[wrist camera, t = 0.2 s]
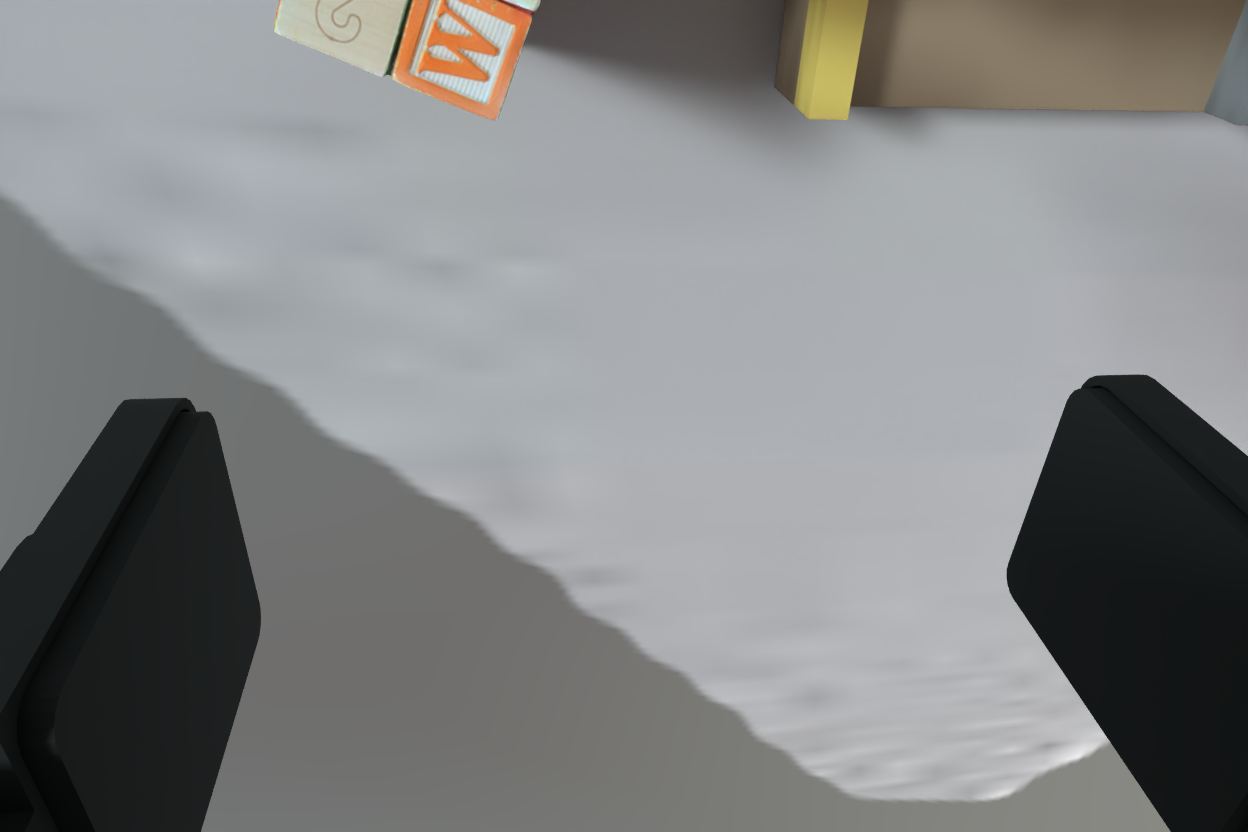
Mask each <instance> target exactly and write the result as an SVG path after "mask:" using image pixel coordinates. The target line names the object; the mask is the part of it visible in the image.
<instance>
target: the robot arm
mask: <svg viewBox="0 0 1248 832" xmlns="http://www.w3.org/2000/svg"><path fill="white" fill-rule="evenodd" d="M1007 583H1008V587H1009V591H1010V593H1011V595H1012V597H1013V599H1014V600H1015V602H1016V603H1017V605H1018V606H1019V608H1020V609H1021V611H1022V612H1023V614H1024V615H1025V617H1026V618H1027V620H1028V621H1029V622H1030V624H1031V625H1032V627H1033V628H1034V630H1035V631H1036V633H1037V634H1038V636H1039V637H1040V639H1041V640H1042V642H1043V643H1044V645H1045V646H1046V648H1047V649H1048V651H1049V652H1050V654H1051V655H1052V657H1053V658H1054V659H1055V661H1056V662H1057V664H1058V665H1059V667H1060V668H1061V670H1062V671H1063V673H1064V674H1065V676H1066V677H1067V679H1068V680H1069V682H1070V683H1071V685H1072V686H1073V688H1074V689H1075V691H1076V692H1077V693H1078V695H1079V696H1080V698H1081V699H1082V701H1083V702H1084V704H1085V705H1086V707H1087V708H1088V710H1089V711H1090V713H1091V714H1092V716H1093V717H1094V719H1095V720H1096V722H1097V723H1098V725H1099V726H1100V728H1101V729H1102V730H1103V732H1104V733H1105V735H1106V736H1107V738H1108V739H1109V741H1110V742H1111V744H1112V745H1113V747H1114V748H1115V750H1116V751H1117V752H1118V754H1119V756H1120V757H1121V759H1122V760H1123V762H1124V763H1125V764H1126V766H1127V767H1128V769H1129V770H1130V772H1131V773H1132V775H1133V776H1134V778H1135V779H1136V781H1137V782H1138V784H1139V785H1140V786H1141V788H1142V790H1143V791H1144V793H1145V794H1146V796H1147V797H1148V798H1149V800H1150V801H1151V803H1152V804H1153V806H1154V807H1155V809H1156V810H1157V812H1158V813H1159V815H1160V816H1161V818H1162V819H1163V821H1164V822H1165V823H1166V825H1167V827H1168V828H1169V830H1170V831H1171V832H1248V456H1247V455H1246V454H1245V453H1243V452H1242V451H1241V450H1240V449H1238V448H1237V447H1236V446H1235V445H1234V444H1232V443H1231V442H1230V441H1229V440H1228V439H1226V438H1225V437H1224V436H1223V435H1221V434H1220V433H1219V432H1218V431H1217V430H1215V429H1214V428H1213V427H1212V426H1211V425H1209V424H1208V423H1207V422H1206V421H1205V420H1203V419H1202V418H1201V417H1200V416H1198V415H1197V414H1196V413H1195V412H1194V411H1192V410H1191V409H1190V408H1189V407H1188V406H1186V405H1185V404H1184V403H1183V402H1182V401H1180V400H1179V399H1178V398H1177V397H1175V396H1174V395H1173V394H1172V393H1171V392H1169V391H1168V390H1167V389H1166V388H1165V387H1163V386H1162V385H1161V384H1160V383H1159V382H1157V381H1156V380H1155V379H1153V378H1151V377H1149V376H1148V375H1102V376H1094V377H1092V378H1089V379H1088V380H1087V381H1086V382H1085V383H1084V384H1083V385H1082V387H1081V389H1078V390H1075V391H1074V392H1073V393H1072V394H1071V395H1070V396H1069V398H1068V400H1067V402H1066V405H1065V408H1064V411H1063V413H1062V416H1061V419H1060V422H1059V425H1058V427H1057V430H1056V433H1055V436H1054V438H1053V441H1052V444H1051V447H1050V449H1049V452H1048V455H1047V458H1046V461H1045V463H1044V466H1043V469H1042V472H1041V474H1040V477H1039V480H1038V483H1037V486H1036V488H1035V491H1034V494H1033V497H1032V499H1031V502H1030V505H1029V508H1028V510H1027V513H1026V516H1025V519H1024V522H1023V524H1022V527H1021V530H1020V533H1019V535H1018V538H1017V541H1016V544H1015V546H1014V549H1013V552H1012V555H1011V558H1010V560H1009V563H1008V567H1007ZM260 626H261V611H260V603H259V600H258V595H257V591H256V587H255V582H254V578H253V574H252V570H251V566H250V562H249V558H248V554H247V549H246V545H245V541H244V537H243V533H242V529H241V525H240V521H239V516H238V512H237V508H236V504H235V500H234V496H233V492H232V488H231V484H230V479H229V476H228V471H227V467H226V463H225V459H224V455H223V451H222V446H221V442H220V439H219V434H218V430H217V426H216V423H215V420H214V418H213V416H212V415H211V413H209V412H208V411H207V412H196V410H195V408H194V406H193V404H192V403H191V401H190V400H188V399H187V398H164V399H163V398H161V399H129V400H124V401H123V402H122V403H121V404H120V405H119V406H118V408H117V409H116V411H115V412H114V414H113V415H112V417H111V418H110V420H109V421H108V423H107V425H106V426H105V427H104V429H103V430H102V432H101V433H100V435H99V436H98V438H97V439H96V441H95V442H94V444H93V445H92V447H91V448H90V450H89V451H88V453H87V454H86V456H85V457H84V459H83V460H82V462H81V463H80V465H79V466H78V468H77V469H76V471H75V472H74V474H73V475H72V477H71V478H70V480H69V482H68V483H67V484H66V486H65V487H64V489H63V490H62V492H61V493H60V495H59V496H58V498H57V499H56V501H55V502H54V504H53V505H52V507H51V508H50V510H49V511H48V512H47V514H46V516H45V517H44V518H43V520H42V521H41V523H40V524H39V526H38V527H37V529H36V531H35V532H34V533H33V534H32V535H29V536H27V537H26V538H25V539H24V540H23V541H22V542H21V543H20V544H19V545H18V546H17V548H16V549H15V550H14V552H13V553H12V555H11V556H10V558H9V559H8V561H7V562H6V564H5V565H4V566H3V568H2V569H1V571H0V832H201V829H202V826H203V822H204V819H205V815H206V812H207V809H208V806H209V802H210V799H211V796H212V792H213V789H214V785H215V782H216V779H217V776H218V772H219V769H220V766H221V762H222V759H223V755H224V752H225V749H226V746H227V742H228V739H229V736H230V732H231V729H232V726H233V722H234V719H235V715H236V712H237V709H238V706H239V702H240V699H241V696H242V692H243V689H244V685H245V682H246V679H247V676H248V672H249V669H250V665H251V662H252V659H253V655H254V652H255V649H256V646H257V642H258V639H259V633H260Z"/></svg>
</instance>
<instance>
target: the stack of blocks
mask: <svg viewBox="0 0 1248 832" xmlns="http://www.w3.org/2000/svg"><path fill="white" fill-rule="evenodd" d="M540 2H541V0H280V1H279V5H278V10H277V14H276V19H275V27H274V31H275V32H276V33H277V34H278V35H280V36H283V37H285V38H288V39H291V40H293V41H296V42H298V43H301V44H303V45H305V46H308V47H310V48H313V49H315V50H317V51H320V52H322V53H325V54H327V55H330V56H332V57H334V58H337V59H339V60H342V61H344V62H346V63H349V64H351V65H354V66H356V67H358V68H361V69H363V70H365V71H368V72H370V73H372V74H375V75H377V76H381V77H383V76H385V75H387V74H388V75H391V77H392V79H393V80H395V81H396V82H398V83H400V84H402V85H404V86H406V87H409V88H411V89H414V90H416V91H419V92H421V93H424V94H426V95H429V96H431V97H434V98H436V99H439V100H441V101H443V102H446V103H448V104H451V105H454V106H456V107H459V108H461V109H464V110H466V111H469V112H471V113H474V114H476V115H479V116H482V117H484V118H487V119H491V120H494V121H496V120H498V117H499V115H500V112H501V109H502V106H503V104H504V101H505V98H506V95H507V92H508V89H509V86H510V83H511V80H512V77H513V74H514V71H515V68H516V65H517V63H518V60H519V57H520V54H521V51H522V48H523V46H524V43H525V40H526V37H527V34H528V31H529V29H530V26H531V22H532V17H533V13H534V12H535V11H536V10H537V9H538V7H539V5H540Z"/></svg>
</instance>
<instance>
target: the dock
mask: <svg viewBox="0 0 1248 832" xmlns="http://www.w3.org/2000/svg"><path fill="white" fill-rule="evenodd" d="M775 88H776V89H777V90H778V91H779V92H780V93H781V94H782V95H784V96H785V97H786V98H787V99H788V100H789V101H790V102H791V103H792V104H793V105H794V106H795V107H796V108H797V109H798V110H800V111H801V112H802V113H803V114H804V115H805V116H806V117H807V118H808V119H834V120H848V115H849V109H850V106H865V107H930V108H996V109H1061V110H1126V111H1191V112H1206V113H1208V114H1211V115H1213V116H1216V117H1218V118H1221V119H1223V120H1225V121H1228V122H1230V123H1233V124H1235V125H1248V0H786V2H785V10H784V17H783V25H782V33H781V41H780V48H779V56H778V64H777V71H776V79H775Z"/></svg>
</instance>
